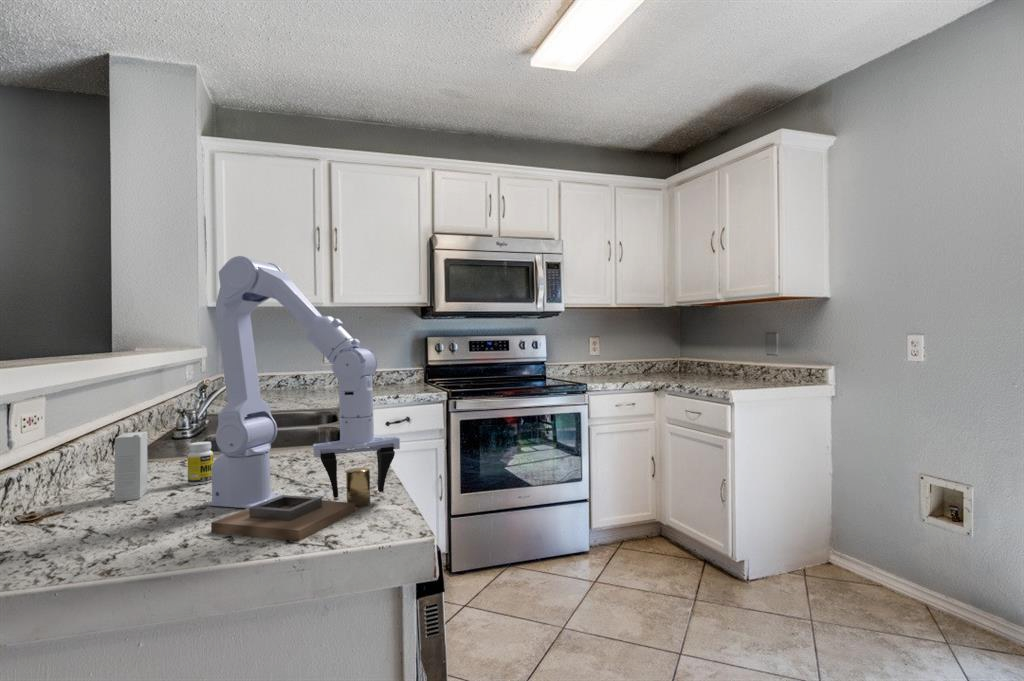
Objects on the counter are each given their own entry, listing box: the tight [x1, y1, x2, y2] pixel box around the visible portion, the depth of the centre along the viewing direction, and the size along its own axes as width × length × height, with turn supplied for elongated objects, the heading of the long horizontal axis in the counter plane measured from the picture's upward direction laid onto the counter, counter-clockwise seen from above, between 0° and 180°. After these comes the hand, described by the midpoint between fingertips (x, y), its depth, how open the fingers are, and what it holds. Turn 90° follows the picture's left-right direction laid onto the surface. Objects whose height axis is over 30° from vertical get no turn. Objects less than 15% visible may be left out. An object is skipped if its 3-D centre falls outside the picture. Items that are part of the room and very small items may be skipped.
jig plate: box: [210, 498, 357, 542], centre depth 87 cm, size 16×14×2 cm
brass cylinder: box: [345, 467, 371, 509], centre depth 96 cm, size 4×4×6 cm
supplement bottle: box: [187, 441, 214, 486], centre depth 116 cm, size 5×5×8 cm
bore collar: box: [249, 494, 323, 521], centre depth 87 cm, size 8×8×2 cm
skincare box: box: [114, 431, 148, 502], centre depth 105 cm, size 6×4×12 cm
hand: (358, 493), depth 96 cm, fingers open, 7 cm apart
